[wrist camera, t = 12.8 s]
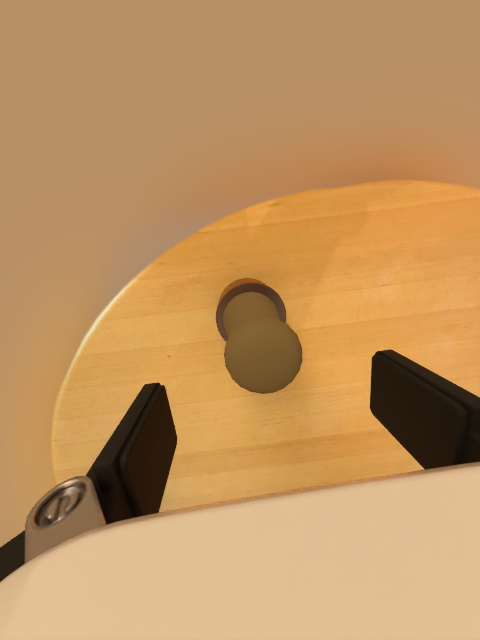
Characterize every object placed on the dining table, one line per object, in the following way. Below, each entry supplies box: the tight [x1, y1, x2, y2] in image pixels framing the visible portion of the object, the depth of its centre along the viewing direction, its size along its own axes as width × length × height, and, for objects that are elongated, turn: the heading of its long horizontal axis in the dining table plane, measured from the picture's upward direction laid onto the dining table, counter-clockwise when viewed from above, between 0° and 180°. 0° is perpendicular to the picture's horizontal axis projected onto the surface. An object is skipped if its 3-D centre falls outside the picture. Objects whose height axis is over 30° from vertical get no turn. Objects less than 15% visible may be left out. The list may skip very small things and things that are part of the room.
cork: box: [223, 292, 302, 394], centre depth 19 cm, size 6×6×11 cm
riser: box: [216, 278, 286, 342], centre depth 27 cm, size 8×8×6 cm
